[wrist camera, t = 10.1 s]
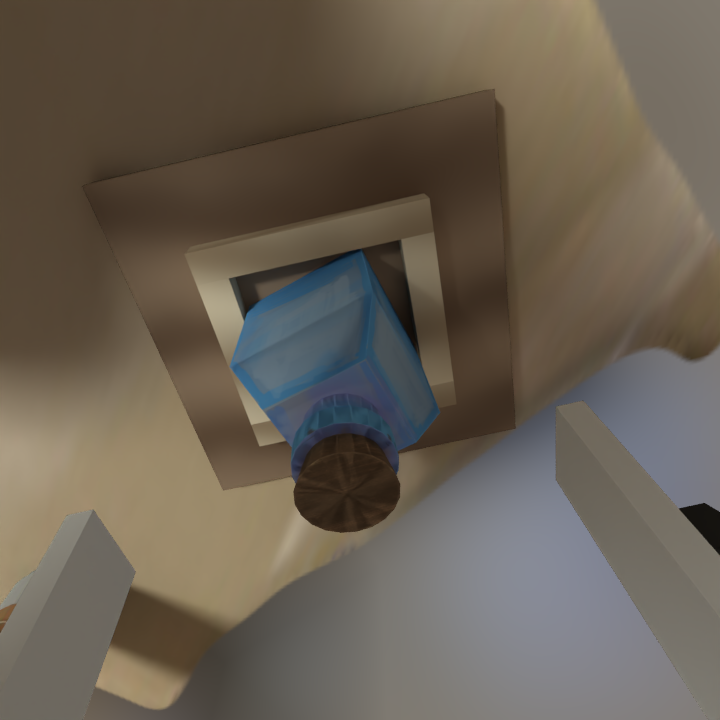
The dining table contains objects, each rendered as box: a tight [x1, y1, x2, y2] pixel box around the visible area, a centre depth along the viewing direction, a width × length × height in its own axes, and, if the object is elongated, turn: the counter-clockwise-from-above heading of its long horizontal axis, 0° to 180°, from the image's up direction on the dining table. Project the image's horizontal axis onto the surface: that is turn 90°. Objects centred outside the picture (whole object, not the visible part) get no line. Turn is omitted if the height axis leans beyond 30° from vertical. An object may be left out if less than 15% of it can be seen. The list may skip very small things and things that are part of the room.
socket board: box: [82, 89, 516, 490], centre depth 25 cm, size 18×18×2 cm
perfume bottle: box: [230, 249, 440, 533], centre depth 20 cm, size 6×6×12 cm
